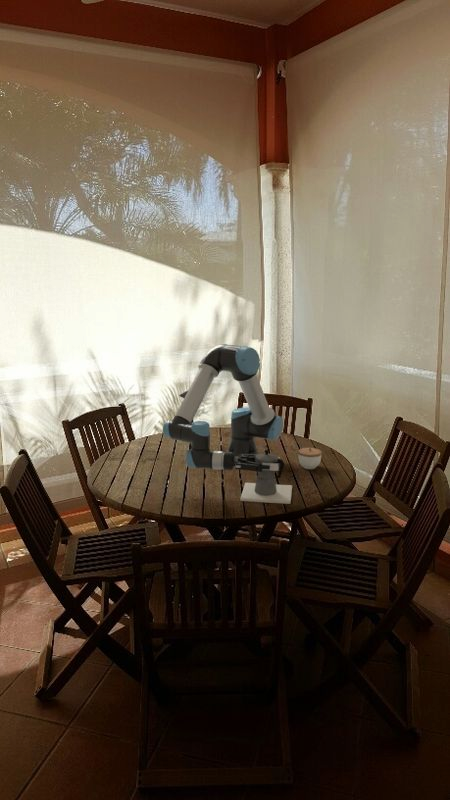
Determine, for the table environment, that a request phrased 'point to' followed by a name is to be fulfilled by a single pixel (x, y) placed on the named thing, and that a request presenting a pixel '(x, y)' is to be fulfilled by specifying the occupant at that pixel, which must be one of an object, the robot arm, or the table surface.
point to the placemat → (279, 497)
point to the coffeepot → (267, 474)
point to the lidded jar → (309, 457)
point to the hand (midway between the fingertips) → (279, 463)
